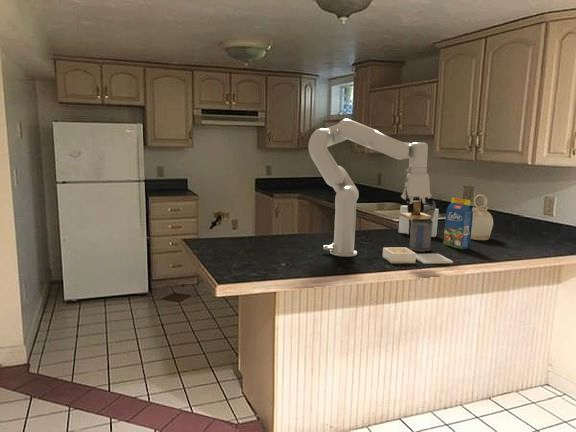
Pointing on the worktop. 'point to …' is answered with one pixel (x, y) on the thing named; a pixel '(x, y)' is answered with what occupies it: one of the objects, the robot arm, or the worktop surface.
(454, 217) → the blue food package
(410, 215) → the lid
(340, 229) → the robot arm
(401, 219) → the skincare box
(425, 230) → the beverage bottle
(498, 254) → the worktop surface
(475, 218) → the jug
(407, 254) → the dish
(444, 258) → the box
